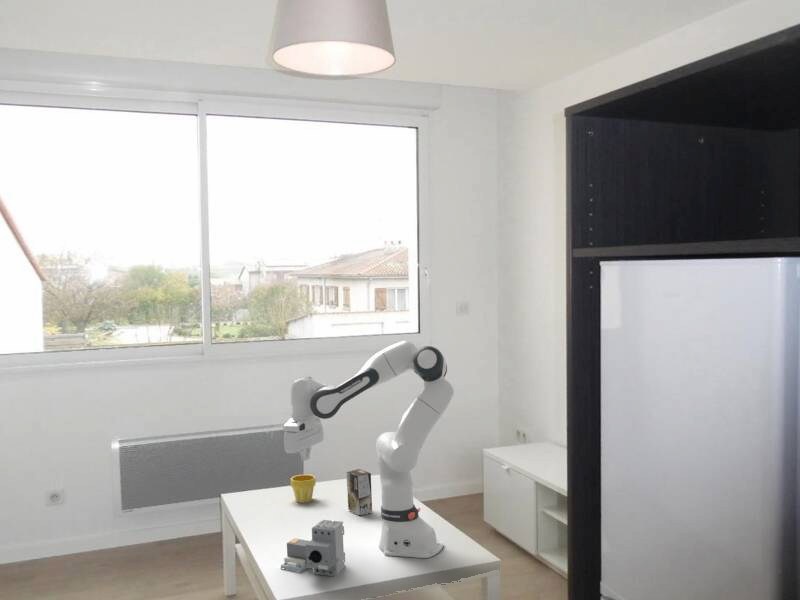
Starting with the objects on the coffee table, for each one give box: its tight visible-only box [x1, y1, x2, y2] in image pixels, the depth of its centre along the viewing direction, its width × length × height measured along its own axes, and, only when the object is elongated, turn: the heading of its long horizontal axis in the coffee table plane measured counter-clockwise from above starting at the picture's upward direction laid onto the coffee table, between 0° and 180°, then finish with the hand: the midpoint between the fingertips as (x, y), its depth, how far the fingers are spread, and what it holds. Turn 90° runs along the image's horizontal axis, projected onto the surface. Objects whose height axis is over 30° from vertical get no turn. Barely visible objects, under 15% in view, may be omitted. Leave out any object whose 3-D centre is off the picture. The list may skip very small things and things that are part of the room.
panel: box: [280, 555, 308, 573], centre depth 246 cm, size 8×14×3 cm, turn 153°
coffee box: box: [346, 468, 373, 516], centre depth 295 cm, size 9×6×16 cm
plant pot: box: [290, 474, 316, 504], centre depth 312 cm, size 10×10×10 cm
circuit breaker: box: [306, 519, 346, 577], centre depth 236 cm, size 8×14×15 cm, turn 159°
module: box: [286, 537, 311, 564], centre depth 245 cm, size 8×4×6 cm, turn 63°
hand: (305, 459), depth 267 cm, fingers closed
